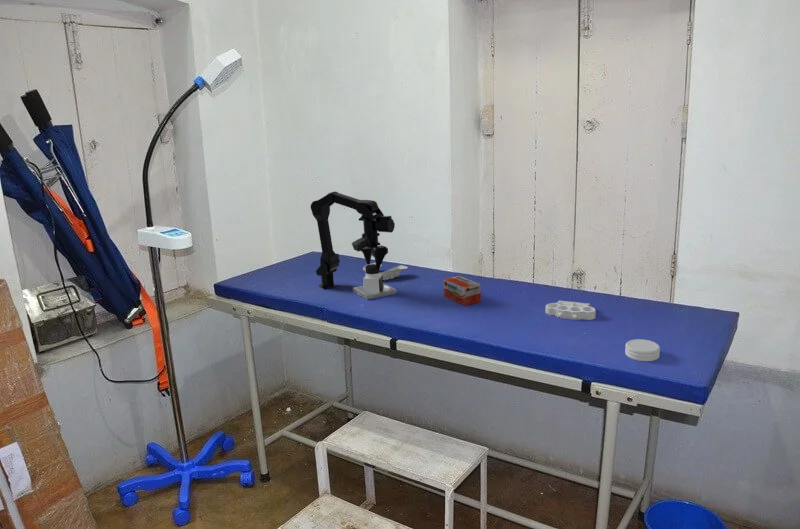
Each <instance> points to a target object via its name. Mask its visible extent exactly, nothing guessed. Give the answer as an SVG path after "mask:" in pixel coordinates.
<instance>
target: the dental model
mask: <svg viewBox="0 0 800 529" xmlns="http://www.w3.org/2000/svg"><path fill="white" fill-rule="evenodd" d="M371 264H376V263H375V262H373V263H371ZM366 266H367V264H366V265H364V266H363V267H362V270H363V271H364V272H365V276H366V268H365V267H366ZM382 266H383V265H382V264H381V266H380V269H381V268H382ZM405 269H408V266H406V265H402V264H401V265H397V266H394V267H391V268H390V269H387V270H385V271H380V274H383V280H384V281H386V280H387V281H389V280H392V279H395V278H398V277H400V275H401V272H402V270H405ZM388 279H389V280H388Z"/></svg>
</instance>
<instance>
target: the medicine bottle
mask: <svg viewBox="0 0 800 529" xmlns="http://www.w3.org/2000/svg"><path fill="white" fill-rule="evenodd" d="M366 265H367V264H366ZM365 268H366V273H365V274H366V275H365V276H364V277H363V278H362V282H363V285H364V293H365V294H375V293H379V292H382V291H383V289H384V285H383V283H384V281H383V274H380V273H381V271H380V270H381V268H379V269H377V268H376V264H372V263H370V264H369V265H367V266H366V267H365ZM363 285H362V286H363Z"/></svg>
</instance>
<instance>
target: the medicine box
mask: <svg viewBox="0 0 800 529" xmlns="http://www.w3.org/2000/svg"><path fill="white" fill-rule="evenodd" d="M481 292H482V290H481V283H479V282H476V281H474V280H471V279H468V278H465V277H463V276H460V275H457V276H452V277H446V278H443V296H444V298H446V299H448V300H451V301H453V302H455V303H457V304H460V305H461V306H464V307H467V306H469V304H470V305H471V304H478V303H481V299H482V293H481ZM477 302H478V303H477Z"/></svg>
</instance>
